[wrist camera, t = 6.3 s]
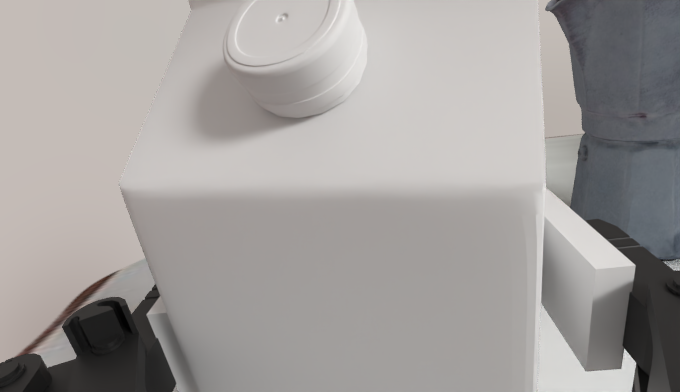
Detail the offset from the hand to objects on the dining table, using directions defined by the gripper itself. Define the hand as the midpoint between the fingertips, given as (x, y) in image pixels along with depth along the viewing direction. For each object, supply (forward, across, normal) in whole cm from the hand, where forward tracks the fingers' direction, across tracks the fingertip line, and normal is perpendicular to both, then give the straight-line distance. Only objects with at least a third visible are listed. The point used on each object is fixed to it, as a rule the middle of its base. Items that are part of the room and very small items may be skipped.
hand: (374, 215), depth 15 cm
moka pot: (+14, +19, -11) cm, 26 cm away
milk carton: (-5, 0, -11) cm, 12 cm away
